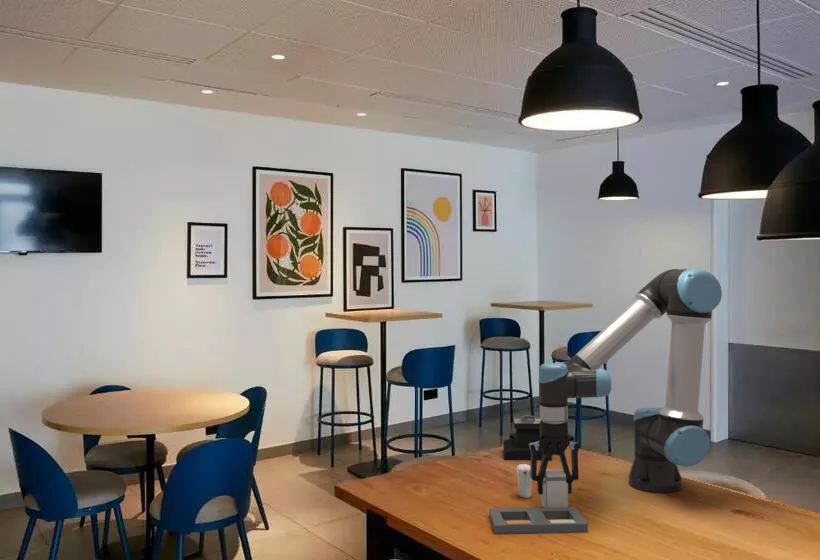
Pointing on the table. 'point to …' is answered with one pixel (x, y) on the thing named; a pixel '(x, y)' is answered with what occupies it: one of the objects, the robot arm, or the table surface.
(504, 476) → the table surface
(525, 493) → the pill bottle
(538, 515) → the socket block
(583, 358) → the robot arm
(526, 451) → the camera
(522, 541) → the table surface
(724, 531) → the table surface
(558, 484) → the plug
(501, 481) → the table surface
